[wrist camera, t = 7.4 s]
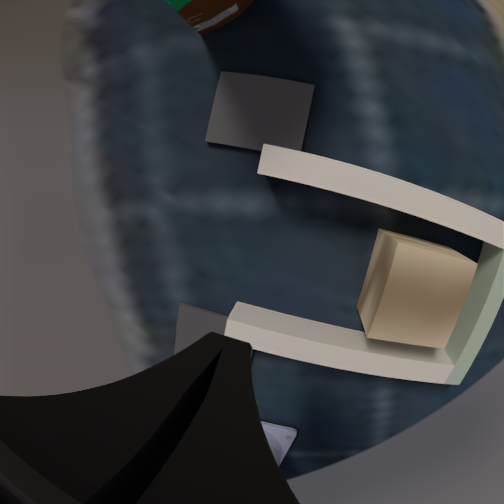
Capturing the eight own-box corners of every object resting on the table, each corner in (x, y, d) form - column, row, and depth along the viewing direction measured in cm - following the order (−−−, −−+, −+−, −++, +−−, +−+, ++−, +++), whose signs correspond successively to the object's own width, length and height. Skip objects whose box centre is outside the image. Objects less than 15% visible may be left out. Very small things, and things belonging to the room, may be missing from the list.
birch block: (422, 317, 17) (444, 348, 13) (356, 305, 17) (367, 337, 14) (446, 245, 15) (477, 263, 11) (378, 227, 16) (397, 242, 12)
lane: (447, 365, 17) (459, 384, 15) (233, 321, 19) (223, 340, 16) (503, 225, 14) (524, 232, 11) (269, 148, 16) (263, 143, 13)
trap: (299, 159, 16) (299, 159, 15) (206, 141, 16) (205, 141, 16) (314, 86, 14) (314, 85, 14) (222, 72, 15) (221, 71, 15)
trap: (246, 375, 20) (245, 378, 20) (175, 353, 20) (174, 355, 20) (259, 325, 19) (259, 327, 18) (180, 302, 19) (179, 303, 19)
